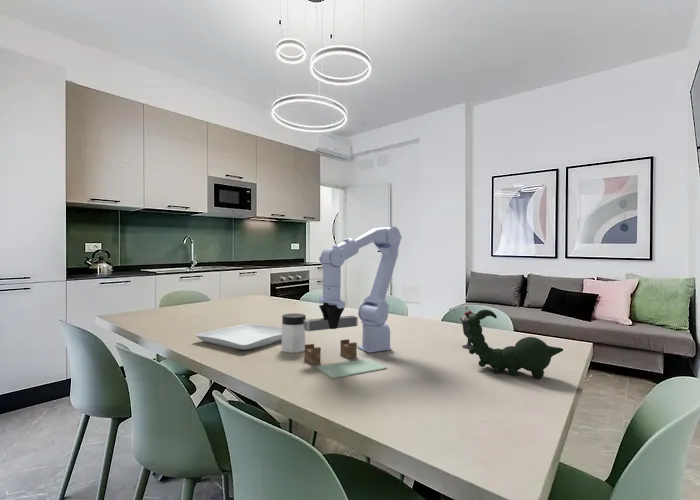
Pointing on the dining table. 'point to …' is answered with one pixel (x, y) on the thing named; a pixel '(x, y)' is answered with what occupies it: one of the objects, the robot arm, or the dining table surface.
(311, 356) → the post
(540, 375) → the toy figurine
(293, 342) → the jar
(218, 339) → the square plate
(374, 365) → the mat
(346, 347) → the post
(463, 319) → the sundae
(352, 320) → the rail
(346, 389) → the dining table surface
